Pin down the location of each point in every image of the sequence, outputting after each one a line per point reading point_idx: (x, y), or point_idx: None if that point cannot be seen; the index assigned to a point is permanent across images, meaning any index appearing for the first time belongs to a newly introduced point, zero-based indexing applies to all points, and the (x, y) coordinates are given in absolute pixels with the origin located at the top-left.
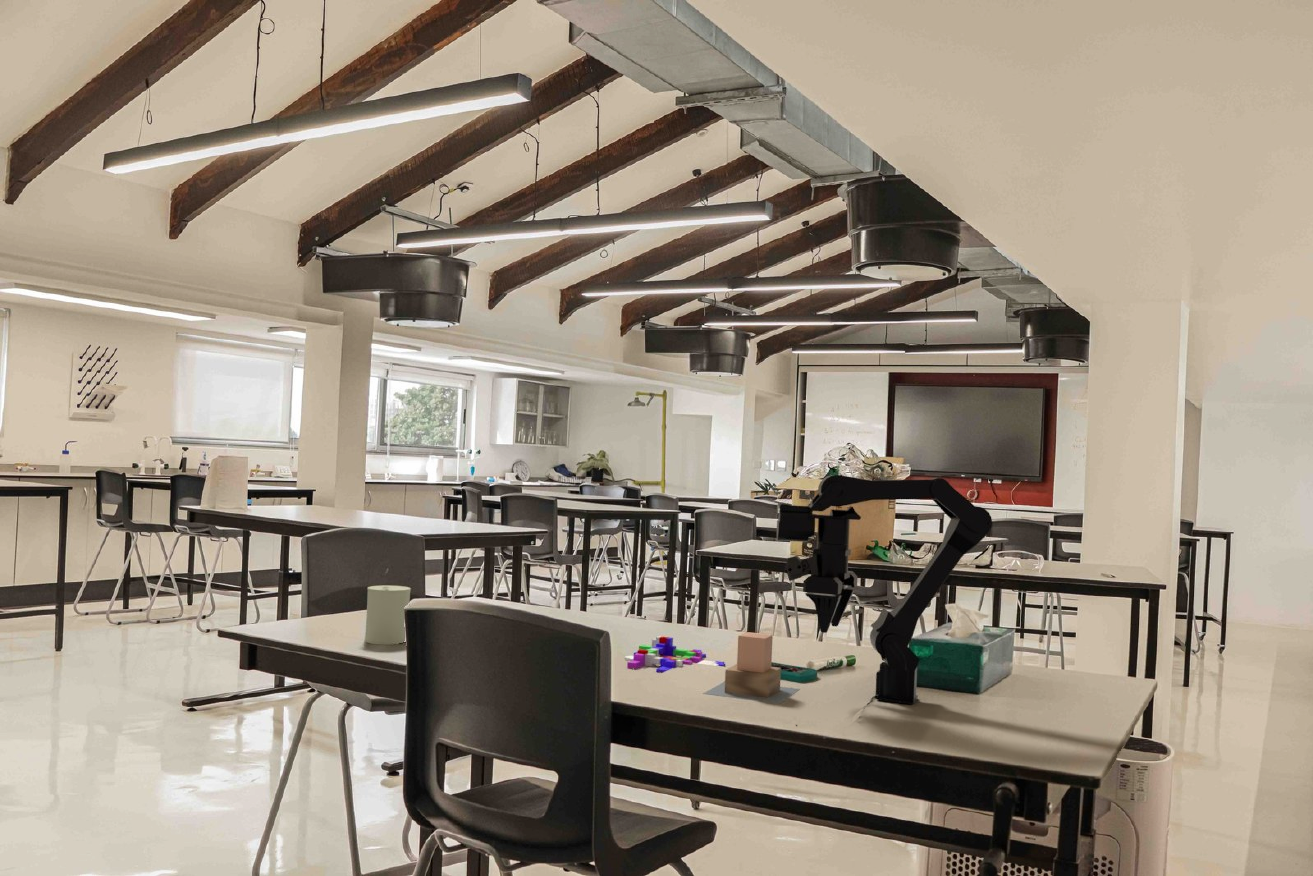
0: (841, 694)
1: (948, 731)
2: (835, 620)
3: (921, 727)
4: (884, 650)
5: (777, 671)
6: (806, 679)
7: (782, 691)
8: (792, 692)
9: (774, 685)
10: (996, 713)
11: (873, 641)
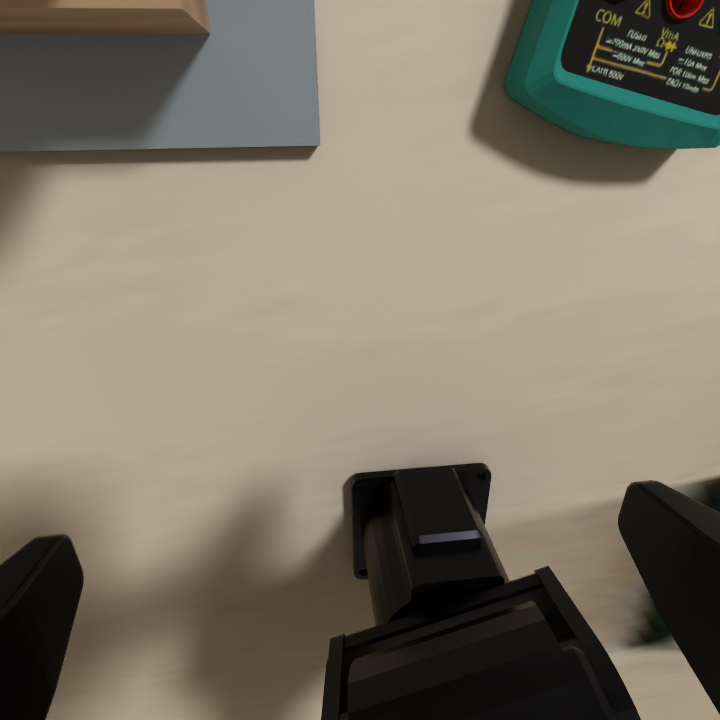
0: (400, 334)
1: (65, 697)
2: (663, 560)
3: None
4: (323, 716)
5: (74, 10)
6: (556, 119)
7: (175, 64)
8: (195, 131)
9: (36, 25)
10: None
11: (410, 696)
